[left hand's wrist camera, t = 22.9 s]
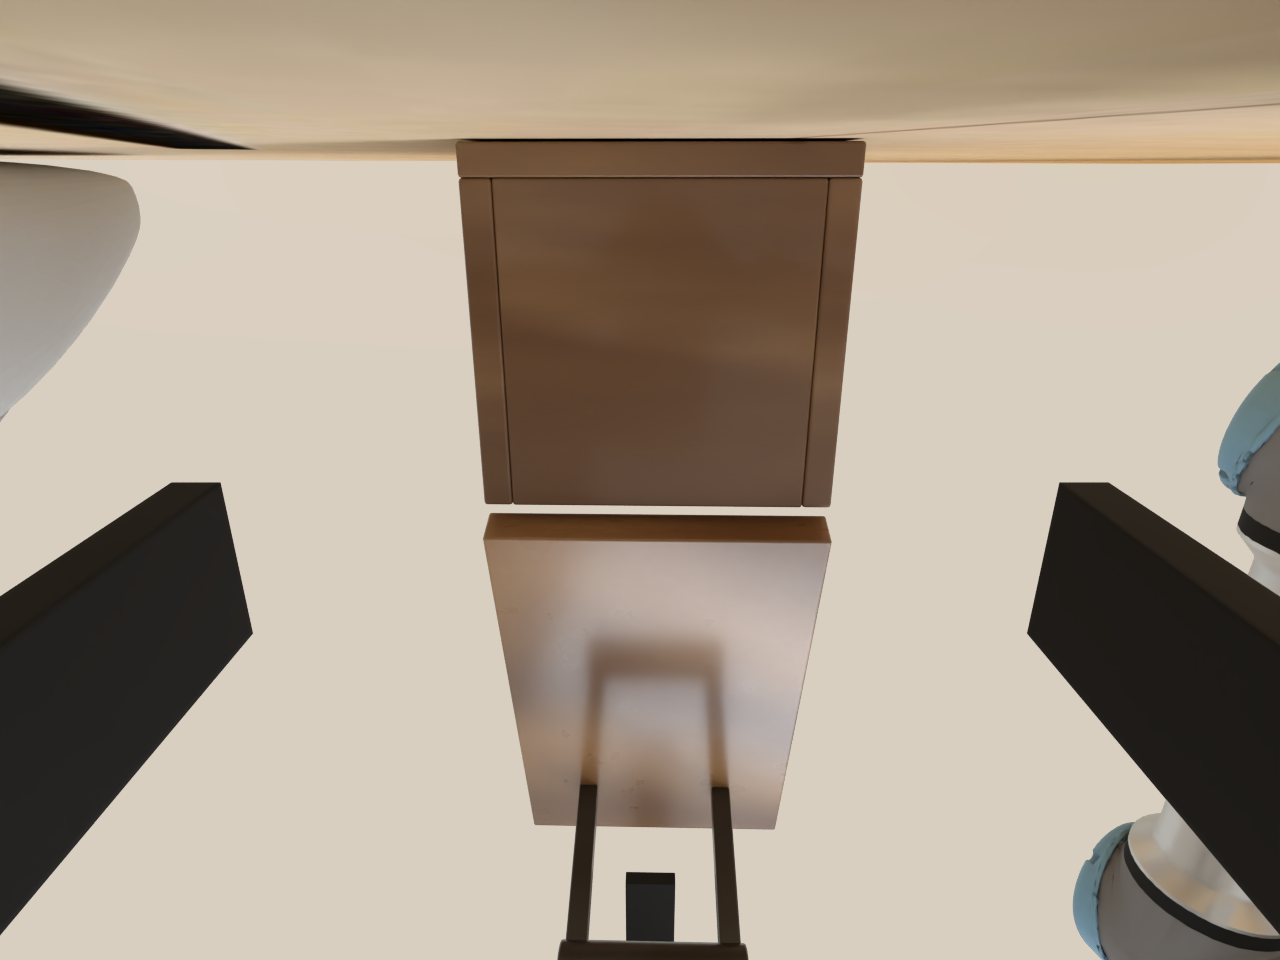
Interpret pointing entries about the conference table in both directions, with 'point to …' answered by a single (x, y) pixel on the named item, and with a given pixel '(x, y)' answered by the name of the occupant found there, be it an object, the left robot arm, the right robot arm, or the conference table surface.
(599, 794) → the lid
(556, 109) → the conference table surface
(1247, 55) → the conference table surface
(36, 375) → the projector
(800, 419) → the chest
